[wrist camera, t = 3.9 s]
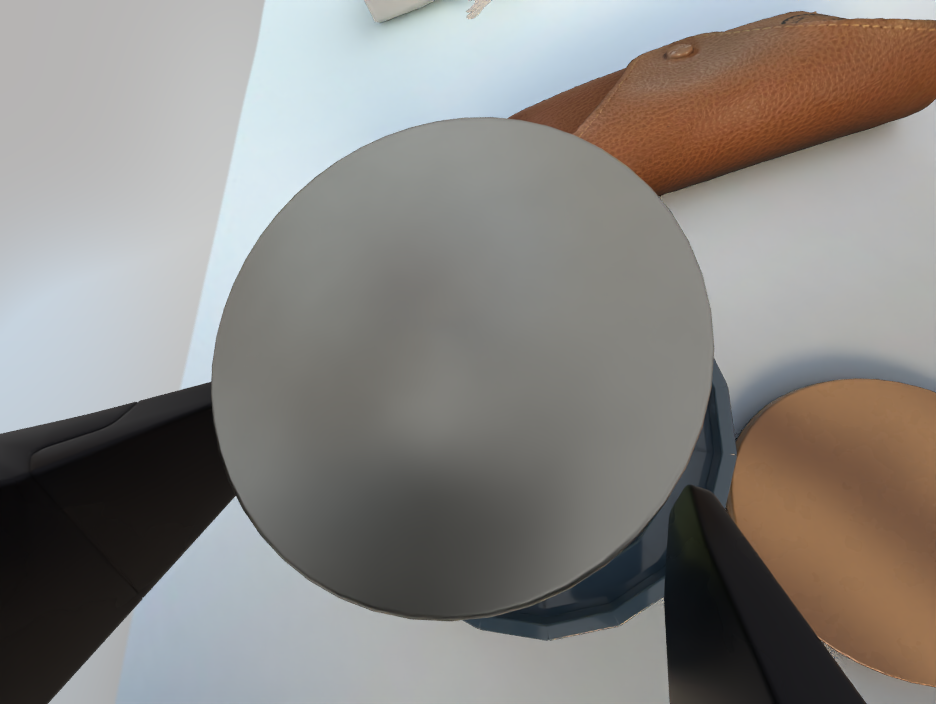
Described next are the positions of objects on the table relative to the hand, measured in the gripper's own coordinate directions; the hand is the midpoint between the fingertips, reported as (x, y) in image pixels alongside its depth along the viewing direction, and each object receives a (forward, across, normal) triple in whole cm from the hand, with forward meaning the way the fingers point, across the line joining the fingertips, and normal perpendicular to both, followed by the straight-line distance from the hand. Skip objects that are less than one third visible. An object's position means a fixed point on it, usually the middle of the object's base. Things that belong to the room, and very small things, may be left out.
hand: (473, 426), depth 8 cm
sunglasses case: (+19, -3, -6) cm, 20 cm away
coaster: (+7, -14, +5) cm, 16 cm away
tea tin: (+7, 0, +5) cm, 8 cm away
